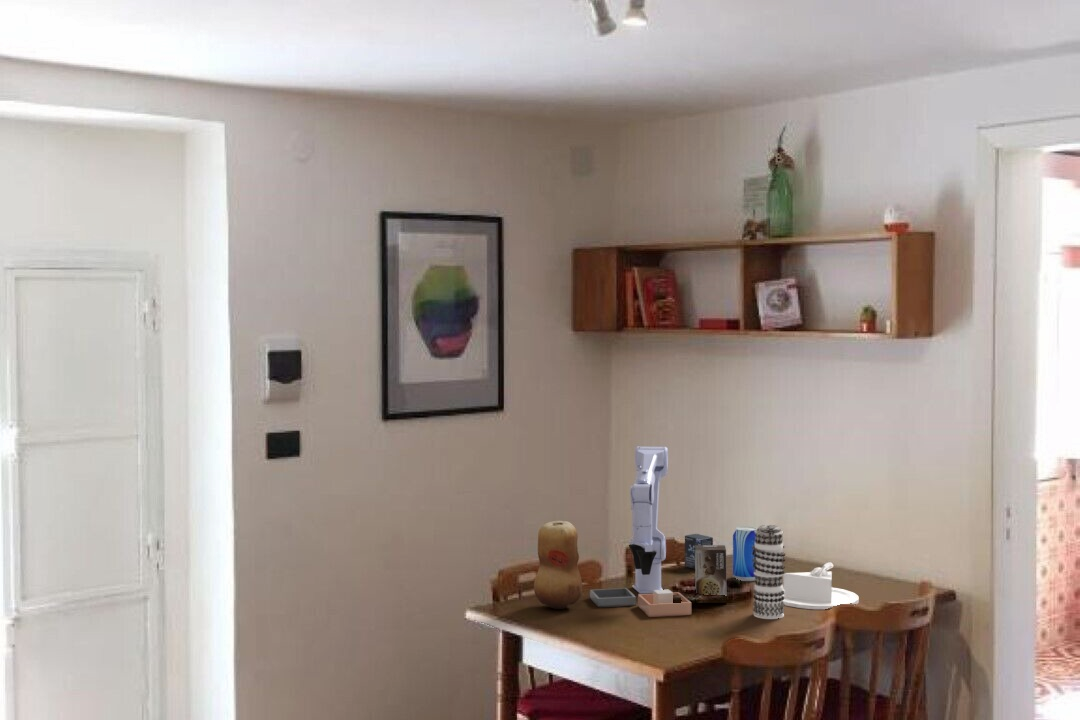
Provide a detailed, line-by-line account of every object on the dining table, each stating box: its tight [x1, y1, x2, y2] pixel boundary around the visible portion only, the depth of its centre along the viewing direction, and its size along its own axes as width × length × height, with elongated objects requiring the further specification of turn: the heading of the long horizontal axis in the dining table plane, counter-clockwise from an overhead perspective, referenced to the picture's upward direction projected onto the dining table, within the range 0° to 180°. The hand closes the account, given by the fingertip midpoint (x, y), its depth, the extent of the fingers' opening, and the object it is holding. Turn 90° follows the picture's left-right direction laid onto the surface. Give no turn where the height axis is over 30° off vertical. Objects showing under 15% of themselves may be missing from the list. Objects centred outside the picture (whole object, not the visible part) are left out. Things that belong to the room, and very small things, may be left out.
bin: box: [637, 591, 692, 618], centre depth 353 cm, size 12×12×4 cm
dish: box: [782, 561, 860, 610], centre depth 365 cm, size 25×25×11 cm
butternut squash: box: [533, 520, 583, 610], centre depth 357 cm, size 14×13×25 cm
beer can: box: [732, 525, 758, 582], centre depth 392 cm, size 8×8×16 cm
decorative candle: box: [752, 524, 786, 620], centre depth 347 cm, size 9×9×25 cm
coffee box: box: [694, 544, 728, 596], centre depth 363 cm, size 9×6×16 cm
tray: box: [589, 587, 637, 608], centre depth 364 cm, size 11×11×2 cm
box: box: [684, 533, 714, 570], centre depth 408 cm, size 8×6×11 cm
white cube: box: [652, 588, 674, 604], centre depth 353 cm, size 4×4×5 cm
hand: (642, 571), depth 361 cm, fingers open, 7 cm apart
